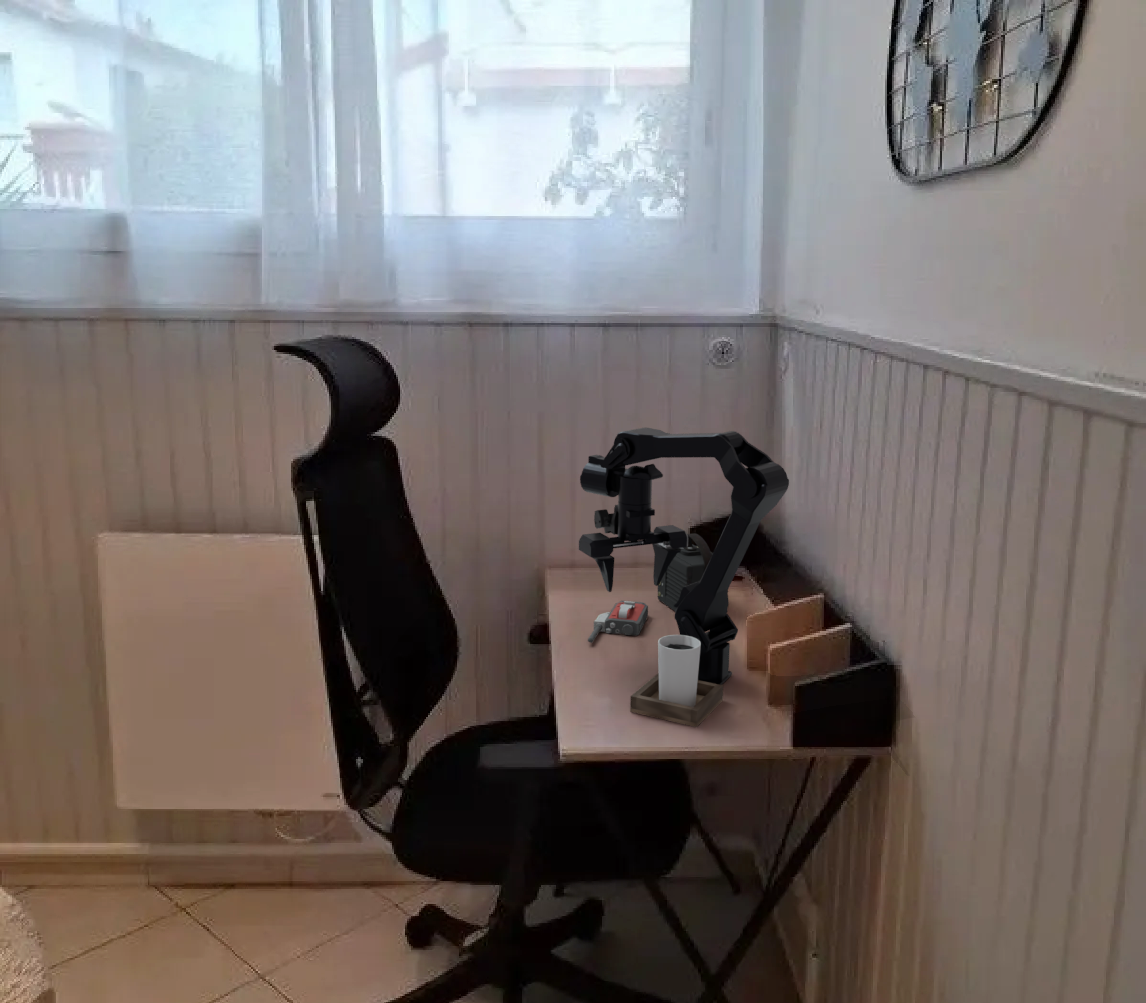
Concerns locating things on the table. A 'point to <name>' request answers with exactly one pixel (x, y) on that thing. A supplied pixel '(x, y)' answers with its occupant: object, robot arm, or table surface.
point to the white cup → (678, 669)
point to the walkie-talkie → (621, 619)
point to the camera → (684, 570)
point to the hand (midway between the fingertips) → (632, 588)
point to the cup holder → (650, 704)
